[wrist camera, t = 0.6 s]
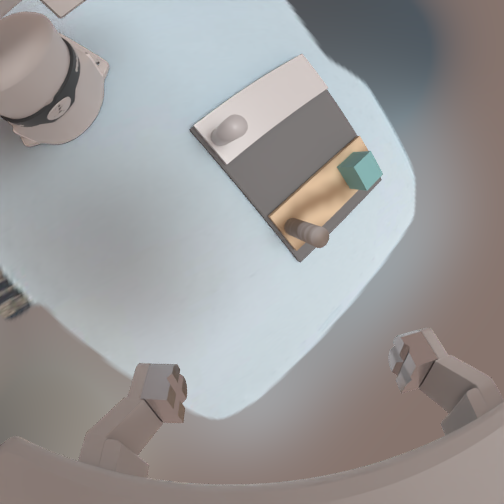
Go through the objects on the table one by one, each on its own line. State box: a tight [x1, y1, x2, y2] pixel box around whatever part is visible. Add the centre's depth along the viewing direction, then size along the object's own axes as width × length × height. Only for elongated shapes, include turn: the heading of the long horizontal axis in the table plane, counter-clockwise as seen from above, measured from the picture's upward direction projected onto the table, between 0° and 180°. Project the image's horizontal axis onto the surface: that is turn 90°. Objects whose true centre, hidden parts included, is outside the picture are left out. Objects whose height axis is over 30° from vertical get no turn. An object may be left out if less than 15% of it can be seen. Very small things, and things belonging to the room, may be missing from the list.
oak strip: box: [268, 136, 368, 251], centre depth 43 cm, size 8×24×10 cm, turn 130°
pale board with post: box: [193, 54, 328, 165], centre depth 36 cm, size 8×24×10 cm, turn 130°
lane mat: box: [190, 89, 382, 262], centre depth 46 cm, size 30×25×1 cm
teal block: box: [337, 151, 383, 191], centre depth 45 cm, size 5×5×5 cm
